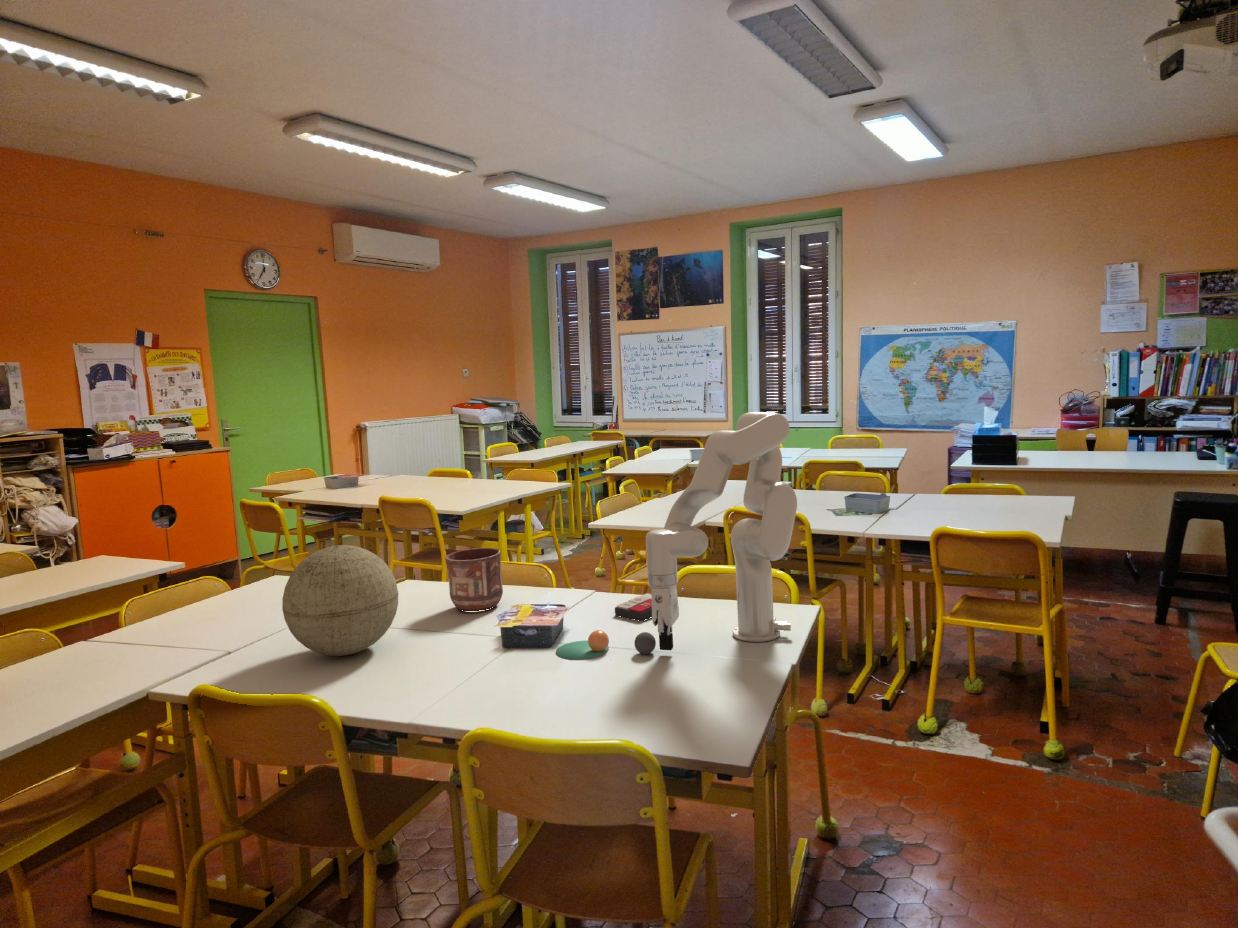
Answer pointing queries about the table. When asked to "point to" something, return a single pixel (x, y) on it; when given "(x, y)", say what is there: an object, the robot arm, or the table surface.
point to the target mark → (578, 651)
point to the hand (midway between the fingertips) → (666, 648)
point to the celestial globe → (340, 600)
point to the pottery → (475, 578)
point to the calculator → (636, 608)
